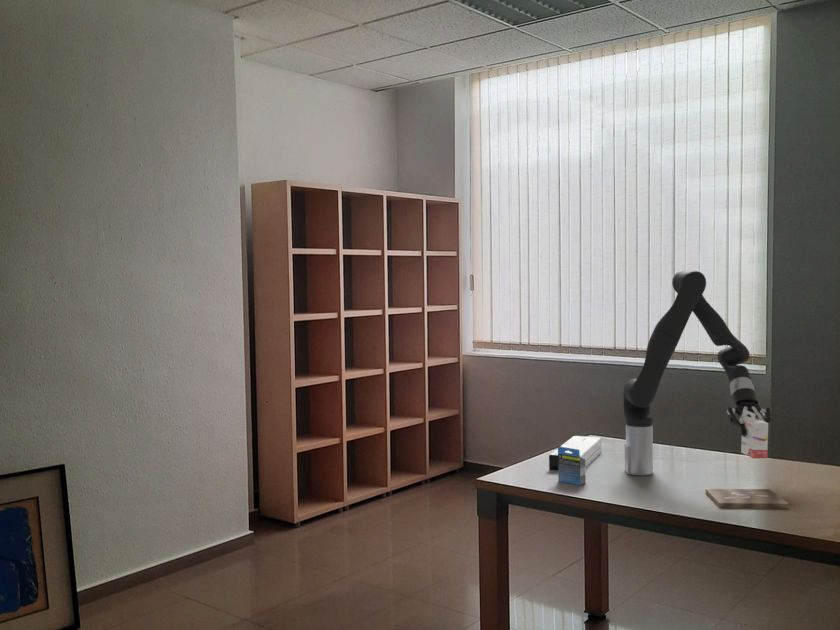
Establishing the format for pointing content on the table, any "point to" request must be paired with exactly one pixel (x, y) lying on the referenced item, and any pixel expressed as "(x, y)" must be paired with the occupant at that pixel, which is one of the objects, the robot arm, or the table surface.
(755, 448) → the ink cartridge box
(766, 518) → the table surface
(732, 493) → the walnut board
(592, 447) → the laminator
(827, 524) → the table surface
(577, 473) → the label tape cartridge
